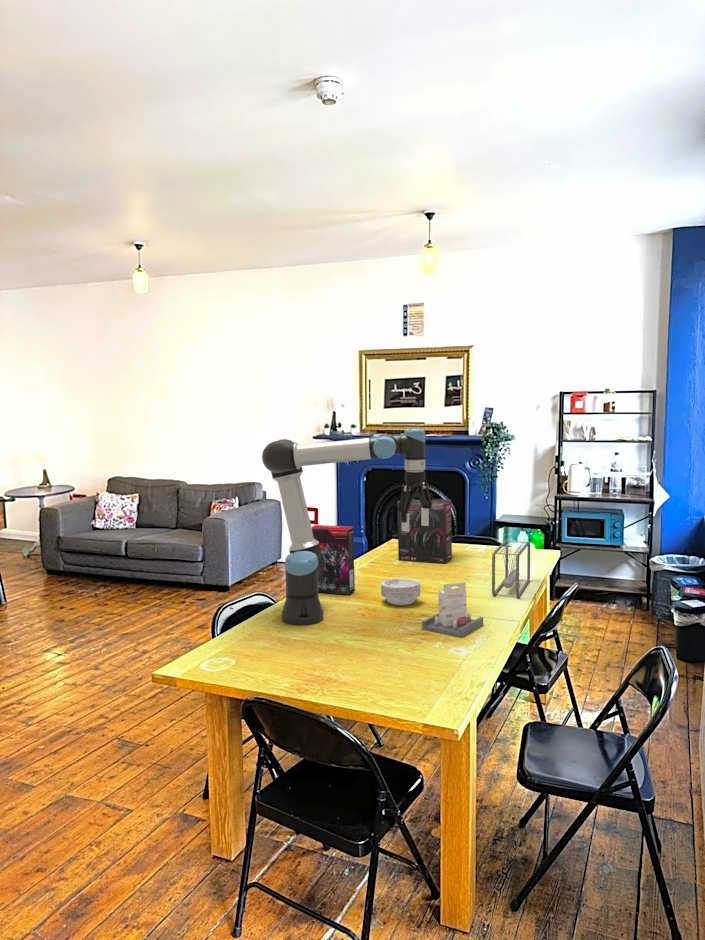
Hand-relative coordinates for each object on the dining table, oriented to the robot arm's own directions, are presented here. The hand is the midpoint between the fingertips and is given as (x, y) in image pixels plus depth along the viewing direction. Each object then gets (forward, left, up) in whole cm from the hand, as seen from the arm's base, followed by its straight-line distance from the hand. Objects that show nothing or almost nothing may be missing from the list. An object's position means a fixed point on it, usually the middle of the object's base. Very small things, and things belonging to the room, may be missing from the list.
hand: (415, 528), depth 256 cm
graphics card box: (+2, +41, -31) cm, 51 cm away
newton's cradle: (+47, -17, -31) cm, 59 cm away
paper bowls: (+5, +10, -31) cm, 33 cm away
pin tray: (-10, -21, -31) cm, 39 cm away
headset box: (+73, +40, -31) cm, 89 cm away
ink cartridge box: (-10, -21, -30) cm, 38 cm away
